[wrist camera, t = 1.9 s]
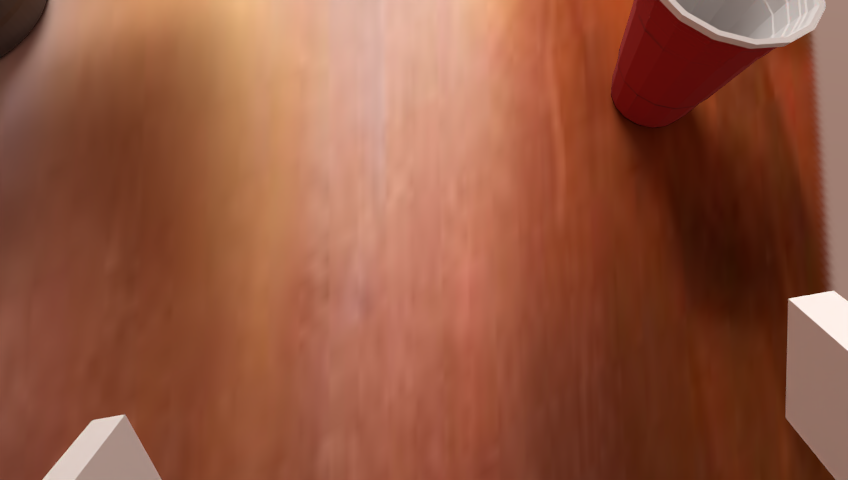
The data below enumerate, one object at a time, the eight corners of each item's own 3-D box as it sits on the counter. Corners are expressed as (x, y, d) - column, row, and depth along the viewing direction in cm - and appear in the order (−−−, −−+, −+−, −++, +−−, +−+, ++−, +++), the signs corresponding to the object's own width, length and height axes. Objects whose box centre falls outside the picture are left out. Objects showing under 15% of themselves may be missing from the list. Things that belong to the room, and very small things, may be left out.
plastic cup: (748, 132, 42) (876, 10, 30) (623, 176, 40) (710, 64, 29) (673, 24, 45) (763, -119, 34) (555, 60, 43) (609, -80, 32)
